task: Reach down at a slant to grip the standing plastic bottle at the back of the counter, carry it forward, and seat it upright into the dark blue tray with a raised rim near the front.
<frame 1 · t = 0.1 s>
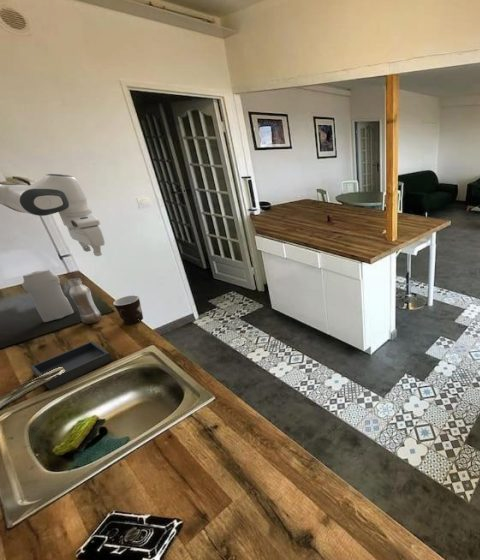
hand: (93, 253, 122), 31 cm above the countertop, tool pointing down, fingers open, 8 cm apart
plastic bottle: (93, 321, 134), on the countertop
coffee mug: (131, 322, 134), on the countertop
dark blue tray: (74, 367, 108), on the countertop
grey tall flat block: (59, 317, 136), on the countertop
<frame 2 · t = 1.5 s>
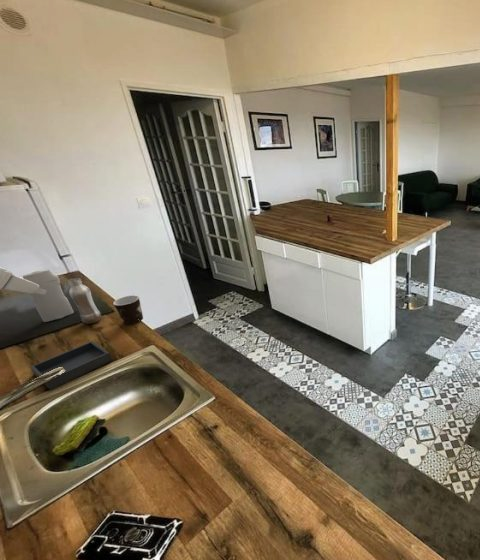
hand: (36, 290, 114), 21 cm above the countertop, tool tilted 45°, fingers open, 8 cm apart
nothing on the countertop moved.
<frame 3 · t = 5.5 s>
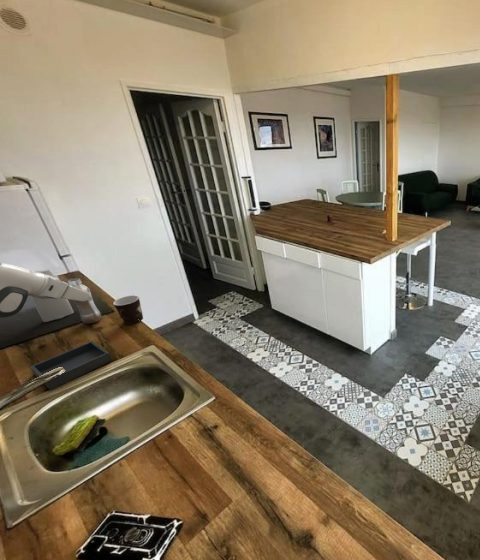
hand: (84, 297, 129), 11 cm above the countertop, tool tilted 45°, fingers closed on plastic bottle, 6 cm apart
plastic bottle: (93, 321, 134), on the countertop, touching gripper
everything else where it was.
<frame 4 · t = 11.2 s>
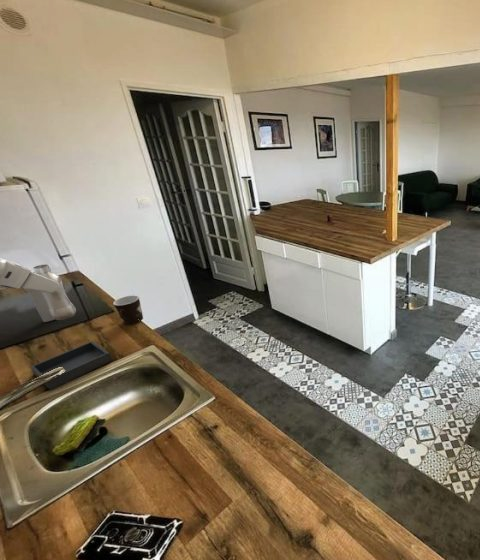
hand: (54, 288, 107), 25 cm above the countertop, tool tilted 45°, fingers closed on plastic bottle, 6 cm apart
plastic bottle: (66, 318, 111), point 14 cm above the countertop, touching gripper
everything else where it was.
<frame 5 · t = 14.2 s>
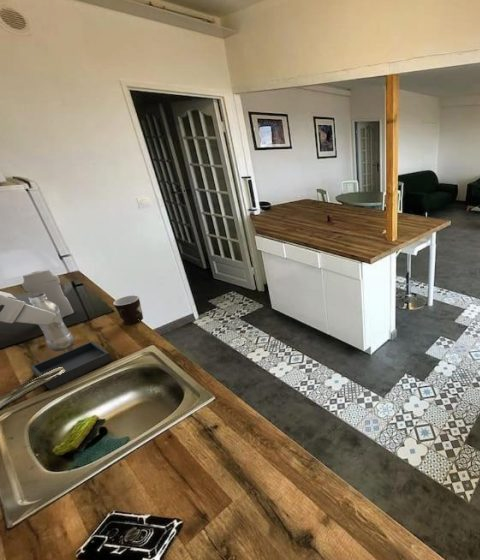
hand: (51, 318, 100), 20 cm above the countertop, tool tilted 45°, fingers closed on plastic bottle, 6 cm apart
plastic bottle: (64, 348, 104), point 8 cm above the countertop, touching gripper
everything else where it was.
when the fingers open (12 cm above the countertop, at t = 16.8 s): plastic bottle stays where it is, resting on dark blue tray.
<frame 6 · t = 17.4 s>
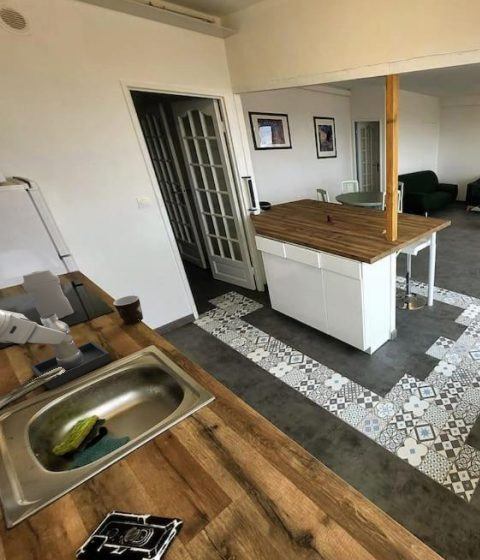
hand: (60, 335, 103), 13 cm above the countertop, tool tilted 45°, fingers open, 8 cm apart
plastic bottle: (74, 365, 108), point 1 cm above the countertop, touching dark blue tray
everything else where it was.
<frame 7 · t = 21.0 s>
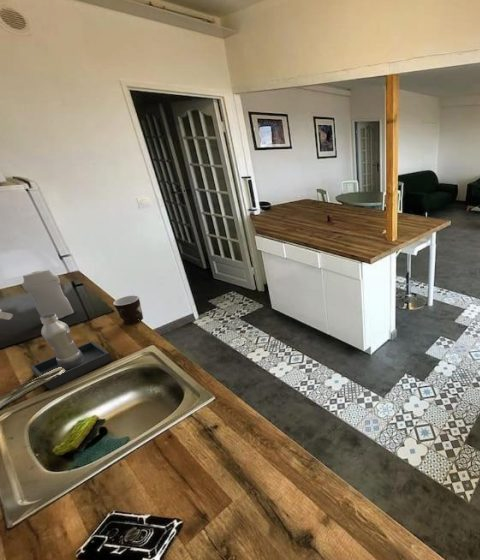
hand: (0, 313, 93), 25 cm above the countertop, tool tilted 45°, fingers open, 8 cm apart
nothing on the countertop moved.
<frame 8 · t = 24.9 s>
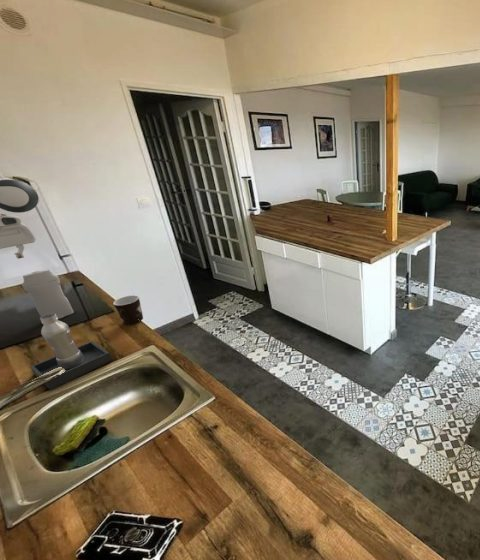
hand: (0, 262, 105), 34 cm above the countertop, tool pointing down, fingers open, 8 cm apart
nothing on the countertop moved.
at the end: plastic bottle inside the target area in the dark blue tray (0.0 cm from its centre), point 0.8 cm above the dark blue tray's base; plastic bottle tilted 0°; the gripper is holding nothing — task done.
